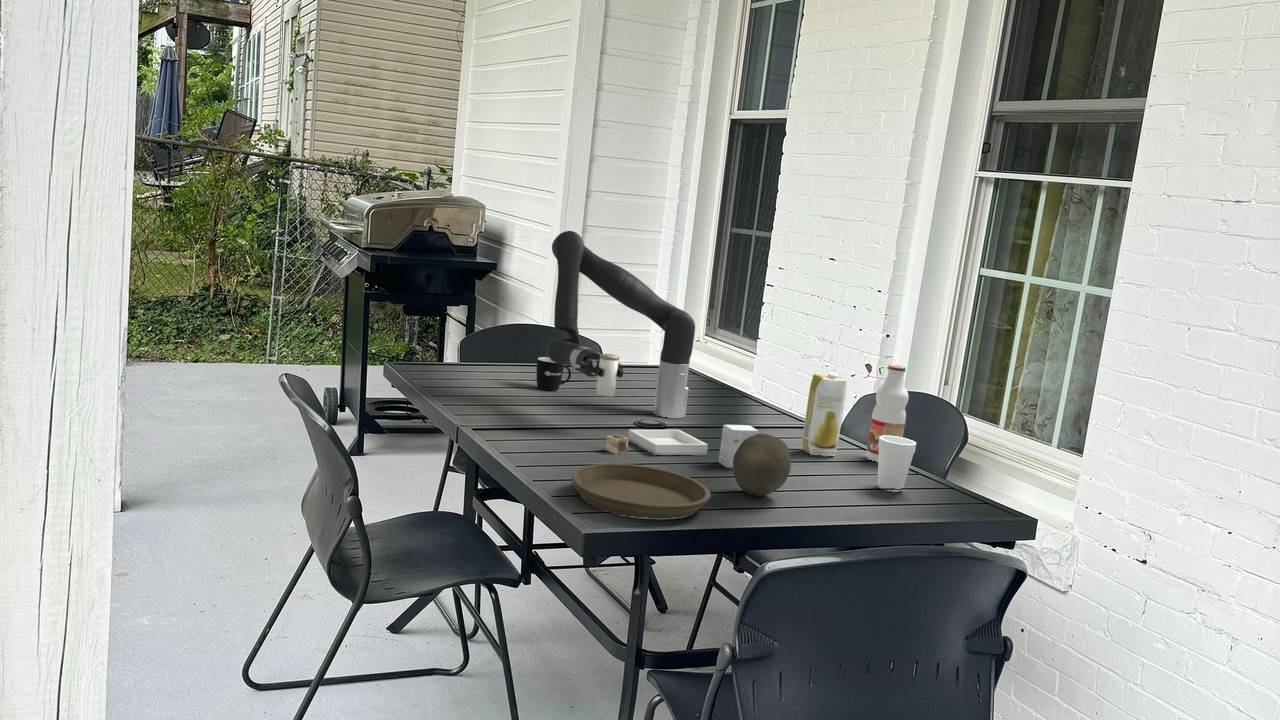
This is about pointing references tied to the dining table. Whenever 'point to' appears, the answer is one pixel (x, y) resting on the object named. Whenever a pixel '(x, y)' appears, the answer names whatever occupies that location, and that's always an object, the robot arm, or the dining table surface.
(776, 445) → the cantaloupe
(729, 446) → the small box
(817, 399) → the juice carton
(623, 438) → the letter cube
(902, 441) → the foam cup
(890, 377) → the fruit juice
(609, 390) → the canister
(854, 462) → the dining table surface
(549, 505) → the dining table surface
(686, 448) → the tray
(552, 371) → the mug
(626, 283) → the robot arm
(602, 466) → the plant saucer
